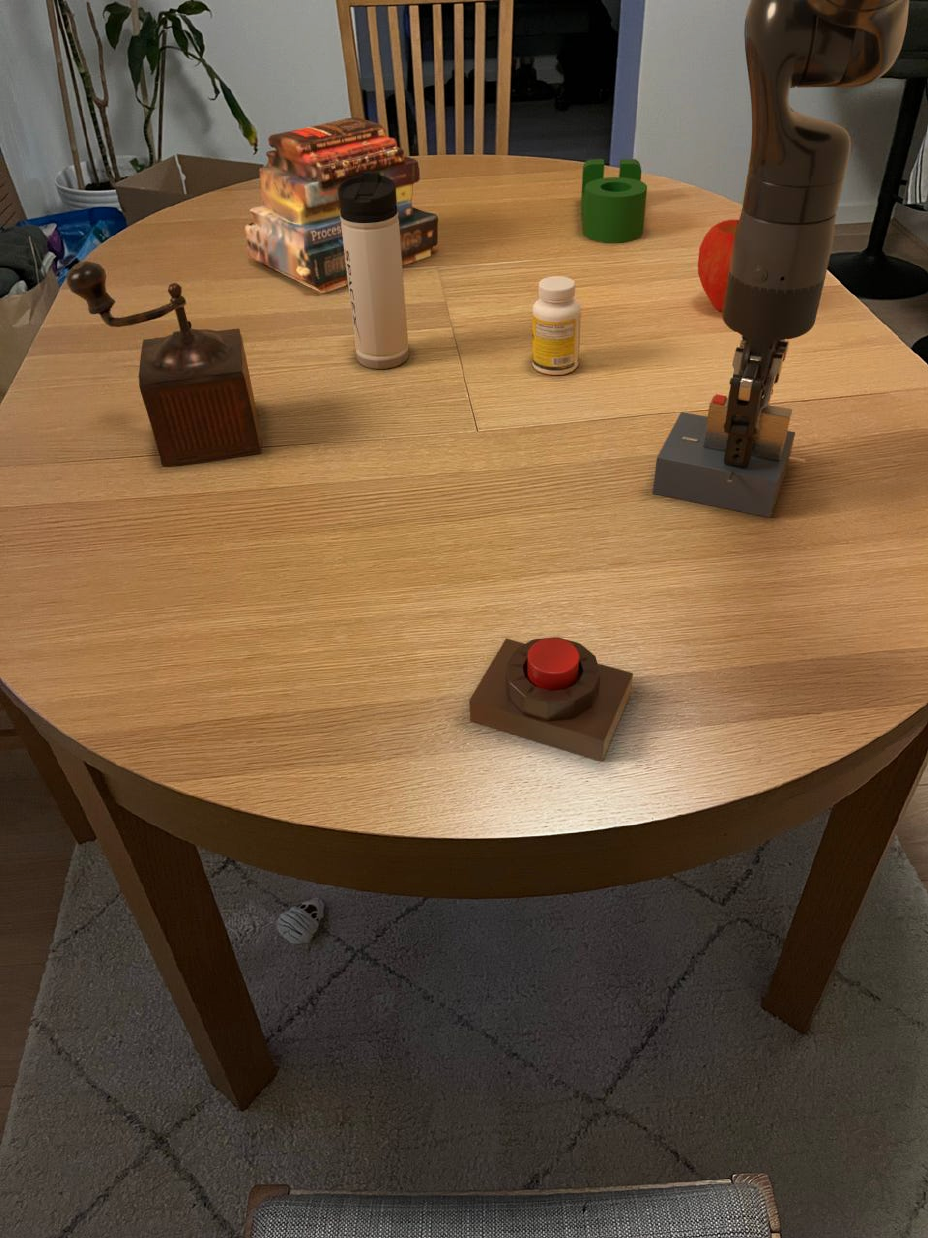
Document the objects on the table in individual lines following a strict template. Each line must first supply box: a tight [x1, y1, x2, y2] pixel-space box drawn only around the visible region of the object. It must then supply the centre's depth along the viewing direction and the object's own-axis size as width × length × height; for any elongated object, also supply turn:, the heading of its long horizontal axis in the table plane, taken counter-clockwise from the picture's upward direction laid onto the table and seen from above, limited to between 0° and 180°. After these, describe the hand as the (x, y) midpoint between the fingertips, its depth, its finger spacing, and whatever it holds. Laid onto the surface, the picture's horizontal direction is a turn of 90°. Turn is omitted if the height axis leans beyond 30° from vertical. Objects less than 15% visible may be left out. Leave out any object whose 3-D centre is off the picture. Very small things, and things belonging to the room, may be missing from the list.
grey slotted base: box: [652, 411, 806, 519], centre depth 88 cm, size 13×11×4 cm
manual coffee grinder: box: [65, 260, 263, 467], centre depth 93 cm, size 16×11×18 cm
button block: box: [468, 636, 634, 762], centre depth 67 cm, size 10×7×4 cm
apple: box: [697, 219, 739, 313], centre depth 115 cm, size 9×8×11 cm
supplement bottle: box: [531, 275, 582, 376], centre depth 105 cm, size 5×5×10 cm
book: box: [244, 116, 439, 294], centre depth 130 cm, size 23×18×17 cm
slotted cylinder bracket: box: [580, 158, 648, 244], centre depth 141 cm, size 18×9×6 cm, turn 176°
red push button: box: [527, 637, 579, 691], centre depth 65 cm, size 4×4×2 cm
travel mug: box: [338, 172, 410, 370], centre depth 105 cm, size 6×7×20 cm
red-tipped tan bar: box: [703, 393, 793, 461], centre depth 84 cm, size 7×2×5 cm, turn 66°
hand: (742, 448), depth 86 cm, fingers closed on grey slotted base, 5 cm apart
